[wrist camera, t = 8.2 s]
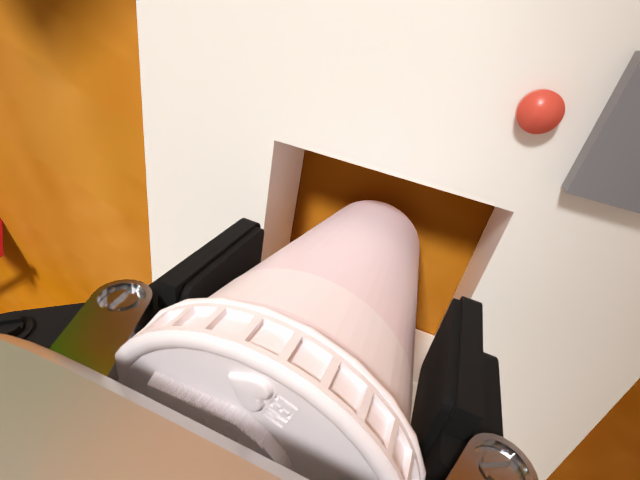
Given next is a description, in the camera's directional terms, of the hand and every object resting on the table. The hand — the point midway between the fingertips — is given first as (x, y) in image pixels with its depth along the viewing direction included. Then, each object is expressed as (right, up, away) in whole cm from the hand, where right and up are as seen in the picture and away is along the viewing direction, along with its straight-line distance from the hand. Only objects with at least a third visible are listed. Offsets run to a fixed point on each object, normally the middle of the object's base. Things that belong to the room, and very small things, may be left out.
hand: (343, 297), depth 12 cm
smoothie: (+1, +2, +3) cm, 4 cm away
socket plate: (+2, +2, +4) cm, 5 cm away
